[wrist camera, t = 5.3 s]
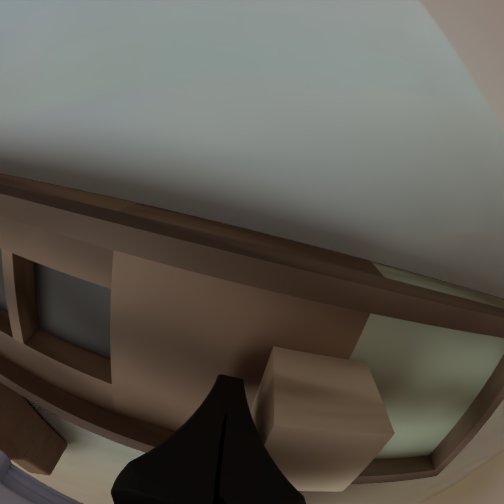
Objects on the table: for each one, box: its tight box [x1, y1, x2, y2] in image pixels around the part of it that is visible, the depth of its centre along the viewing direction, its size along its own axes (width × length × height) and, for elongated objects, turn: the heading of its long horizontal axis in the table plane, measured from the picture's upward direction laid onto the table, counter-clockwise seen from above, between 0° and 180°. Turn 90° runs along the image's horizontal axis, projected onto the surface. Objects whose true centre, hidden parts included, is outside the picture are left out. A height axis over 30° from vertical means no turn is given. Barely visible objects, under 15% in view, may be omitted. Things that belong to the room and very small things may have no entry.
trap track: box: [0, 174, 504, 484], centre depth 14 cm, size 13×37×4 cm, turn 76°
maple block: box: [250, 346, 395, 492], centre depth 11 cm, size 4×4×4 cm
